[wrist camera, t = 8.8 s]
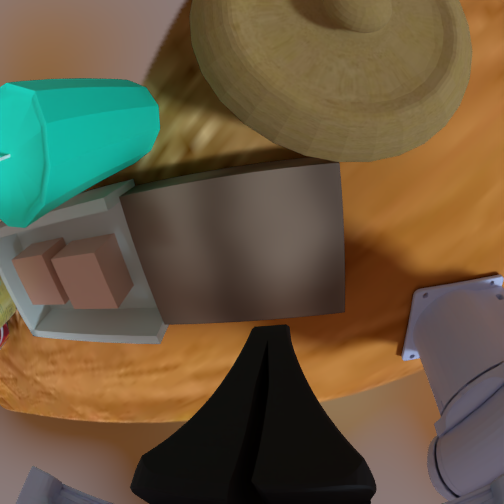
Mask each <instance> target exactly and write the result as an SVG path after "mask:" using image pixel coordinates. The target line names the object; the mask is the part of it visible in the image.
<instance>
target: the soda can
mask: <svg viewBox="0 0 504 504" xmlns="http://www.w3.org/2000/svg"><path fill="white" fill-rule="evenodd" d="M8 337H9V330H8V324H7V322H6V323H5V324H4V325H3V326H2V327H1V328H0V349H1V348H2V346H3V345H4V344H5V342H6V340H7V339H8Z"/></svg>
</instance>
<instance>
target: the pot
mask: <svg viewBox="0 0 504 504" xmlns="http://www.w3.org/2000/svg"><path fill="white" fill-rule="evenodd" d="M189 19H190V31H191V42H192V47H193V50H194V53H195V56H196V58H197V61H198V64H199V67H200V70H201V72H202V75H203V76H204V77H205V79H206V80H207V82H208V83H209V85H210V86H211V88H212V89H213V91H214V92H215V94H216V95H217V97H218V98H219V100H220V101H221V102H222V103H223V104H224V105H225V106H226V107H227V108H228V109H229V110H231V111H232V112H233V113H234V114H235V115H236V116H237V117H238V118H239V119H240V120H241V121H242V122H243V123H244V124H245V125H247V126H248V127H250V128H252V129H253V130H255V131H256V132H258V133H259V134H261V135H262V136H264V137H265V138H267V139H268V140H270V141H271V142H273V143H275V144H278V145H280V146H283V147H285V148H288V149H290V150H293V151H295V152H297V153H300V154H302V155H304V156H310V157H315V158H320V159H325V160H330V161H335V162H371V161H375V160H380V159H385V158H389V157H394V156H399V155H401V154H403V153H405V152H407V151H409V150H412V149H414V148H416V147H418V146H420V145H422V144H424V143H425V142H427V141H428V140H429V139H430V138H431V137H433V136H434V135H435V134H436V133H437V132H439V131H440V130H441V129H442V128H443V127H445V125H446V124H447V123H448V121H449V120H450V118H451V117H452V116H453V114H454V113H455V111H456V110H457V108H458V107H459V106H460V103H461V101H462V98H463V96H464V93H465V90H466V88H467V85H468V82H469V79H470V71H471V61H472V46H471V39H470V32H469V26H468V23H467V20H466V17H465V14H464V12H463V9H462V7H461V4H460V2H459V0H192V5H191V10H190V16H189Z"/></svg>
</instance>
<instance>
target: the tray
mask: <svg viewBox="0 0 504 504" xmlns="http://www.w3.org/2000/svg"><path fill="white" fill-rule="evenodd" d="M134 186H135V184H134V180H133V179H131V180H127V181H123V182H119V183H115V184H111V185H107V186H104V187H100V188H96V189H92V190H89V191H85V192H82V193H79V194H78V195H76V196H74V197H73V198H71V199H69V200H68V201H66V202H64V203H63V204H61V205H60V206H58V207H56V208H55V209H53V210H52V211H50V212H49V213H47V214H45V215H44V216H42V217H41V218H39V219H38V220H36V221H35V222H33V223H32V224H30V225H29V226H28V227H26V228H19V227H9V226H7V225H6V224H5V223H4V222H3V221H1V222H0V276H1V278H2V280H3V282H4V284H5V286H6V288H7V290H8V292H9V294H10V296H11V298H12V300H13V302H14V304H15V305H16V307H17V309H18V311H19V313H20V314H21V316H22V318H23V320H24V321H25V323H26V325H27V326H28V328H29V330H30V331H31V333H32V335H33V336H37V337H46V338H56V339H67V340H79V341H93V342H111V343H136V344H160V343H161V341H162V339H163V337H164V334H165V332H166V330H167V328H168V326H169V325H165V324H164V322H163V320H162V317H161V315H160V312H159V310H158V308H157V305H156V303H155V300H154V298H153V295H152V292H151V290H150V287H149V285H148V282H147V279H146V277H145V274H144V271H143V269H142V266H141V263H140V260H139V257H138V255H137V252H136V249H135V246H134V243H133V240H132V237H131V234H130V231H129V228H128V225H127V222H126V219H125V215H124V212H123V209H122V206H121V202H120V199H119V196H121V195H122V194H124V193H125V192H127V191H128V190H130V189H131V188H133V187H134ZM113 233H115V236H116V239H117V242H118V245H119V247H120V250H121V253H122V256H123V258H124V261H125V264H126V266H127V269H128V271H129V274H130V277H131V279H132V282H133V284H134V286H133V287H132V289H131V290H130V292H129V293H128V295H127V296H126V297H125V299H124V300H123V302H122V303H121V305H120V306H119V308H112V309H74V307H73V305H72V303H71V302H70V300H68V302H67V303H66V304H62V305H33V304H32V302H31V300H30V298H29V296H28V294H27V292H26V290H25V288H24V286H23V284H22V282H21V280H20V278H19V276H18V274H17V272H16V269H15V267H14V265H13V263H12V261H11V260H12V259H13V258H15V257H16V256H17V255H18V254H19V253H21V252H22V251H23V250H24V249H26V248H27V247H28V246H30V245H31V244H33V243H38V242H43V241H47V240H52V239H57V238H61V237H63V239H64V241H65V244H66V245H68V244H69V243H70V242H71V241H74V240H79V239H85V238H90V237H96V236H102V235H107V234H113Z"/></svg>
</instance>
